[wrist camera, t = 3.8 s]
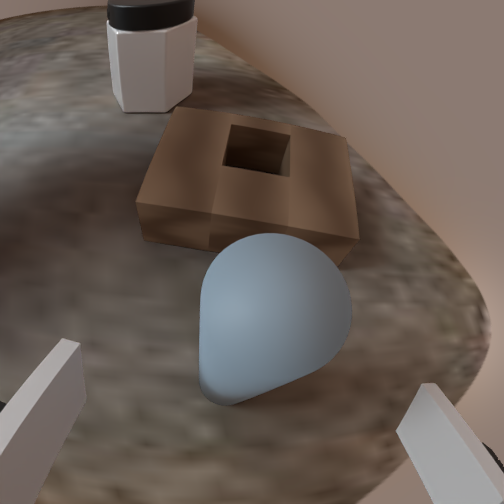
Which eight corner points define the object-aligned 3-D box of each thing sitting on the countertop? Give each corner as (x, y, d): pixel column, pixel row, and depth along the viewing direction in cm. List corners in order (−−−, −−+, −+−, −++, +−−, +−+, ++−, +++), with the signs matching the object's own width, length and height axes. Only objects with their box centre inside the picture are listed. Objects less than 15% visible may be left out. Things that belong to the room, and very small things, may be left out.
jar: (151, 68, 34) (151, -18, 23) (204, 86, 33) (215, -10, 23) (98, 103, 29) (85, 5, 19) (153, 125, 28) (150, 11, 18)
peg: (195, 401, 18) (188, 367, 6) (202, 351, 19) (213, 222, 7) (248, 408, 18) (352, 383, 6) (253, 358, 20) (348, 245, 7)
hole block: (144, 240, 22) (135, 201, 18) (175, 146, 27) (175, 106, 23) (334, 270, 24) (359, 239, 20) (328, 173, 29) (345, 137, 25)
